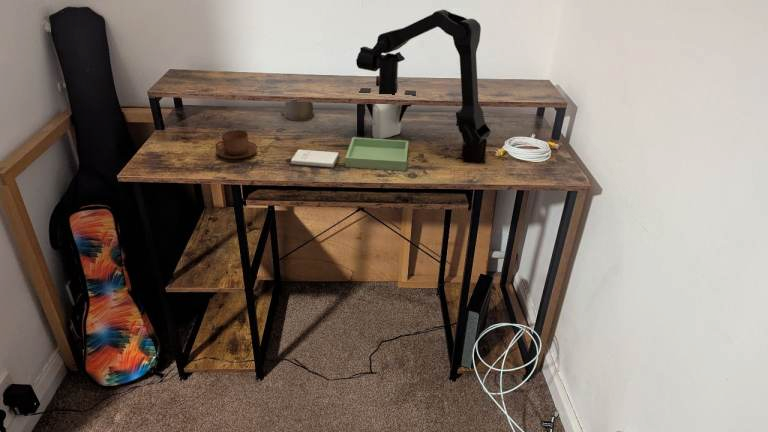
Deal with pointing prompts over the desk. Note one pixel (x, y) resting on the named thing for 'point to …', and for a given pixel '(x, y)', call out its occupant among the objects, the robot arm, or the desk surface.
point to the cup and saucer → (235, 145)
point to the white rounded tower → (386, 120)
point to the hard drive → (315, 158)
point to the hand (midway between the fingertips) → (386, 121)
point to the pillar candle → (299, 111)
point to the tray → (377, 154)
